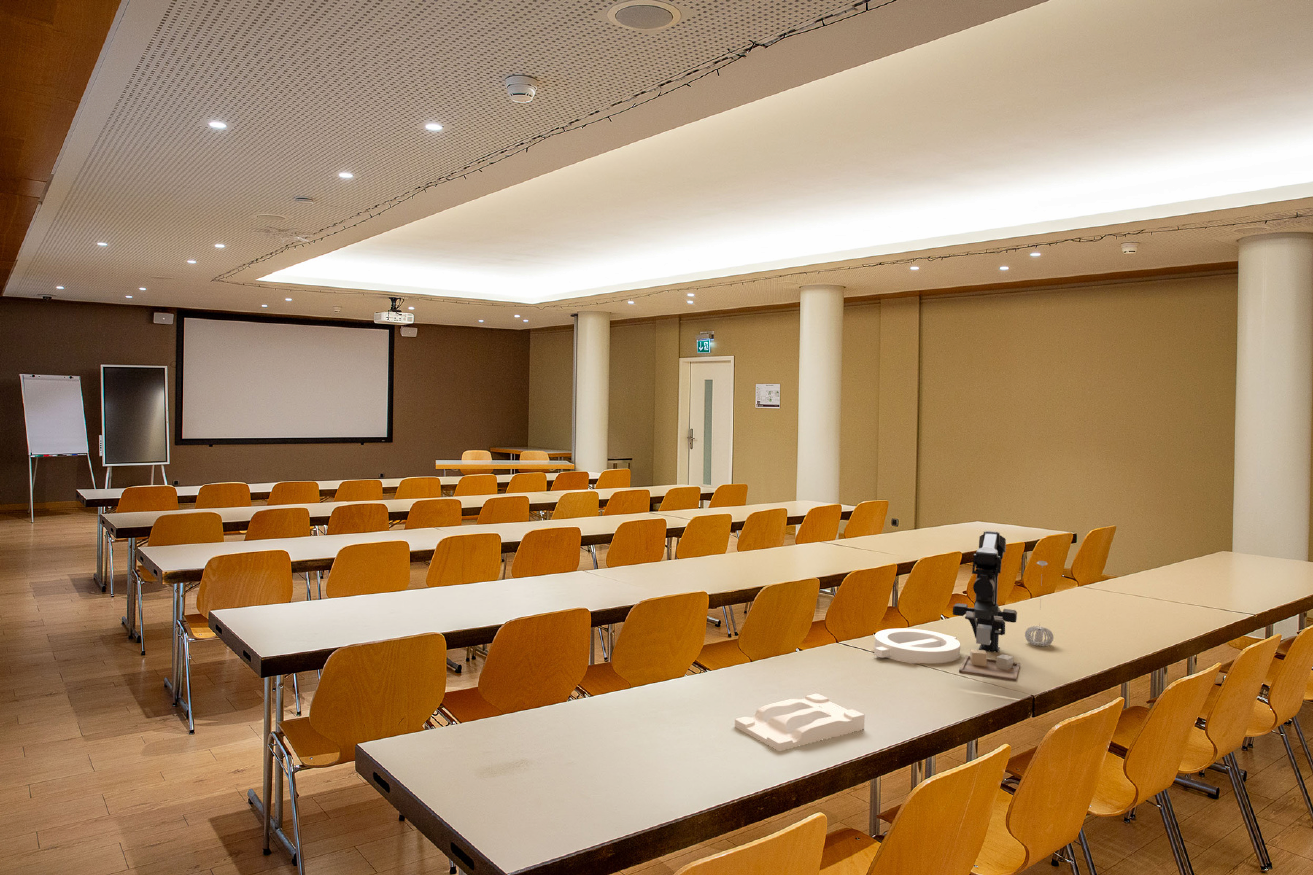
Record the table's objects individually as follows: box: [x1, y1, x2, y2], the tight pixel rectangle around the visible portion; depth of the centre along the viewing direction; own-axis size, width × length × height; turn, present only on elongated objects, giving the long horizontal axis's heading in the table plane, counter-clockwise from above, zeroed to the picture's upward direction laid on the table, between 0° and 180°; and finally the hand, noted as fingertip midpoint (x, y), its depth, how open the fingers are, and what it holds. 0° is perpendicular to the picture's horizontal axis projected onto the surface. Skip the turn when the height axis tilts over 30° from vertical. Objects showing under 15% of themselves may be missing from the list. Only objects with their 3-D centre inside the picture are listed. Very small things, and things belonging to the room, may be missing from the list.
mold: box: [734, 693, 866, 752], centre depth 218 cm, size 18×29×5 cm, turn 122°
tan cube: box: [969, 648, 988, 666], centre depth 274 cm, size 4×4×4 cm
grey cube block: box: [975, 624, 992, 645], centre depth 266 cm, size 5×4×5 cm
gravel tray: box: [958, 655, 1021, 682], centre depth 269 cm, size 18×17×1 cm
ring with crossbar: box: [873, 627, 961, 665], centre depth 288 cm, size 28×28×5 cm
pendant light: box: [1024, 560, 1054, 647], centre depth 300 cm, size 9×9×30 cm
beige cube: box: [995, 653, 1014, 670], centre depth 271 cm, size 4×4×4 cm
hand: (983, 639), depth 266 cm, fingers closed on grey cube block, 4 cm apart
